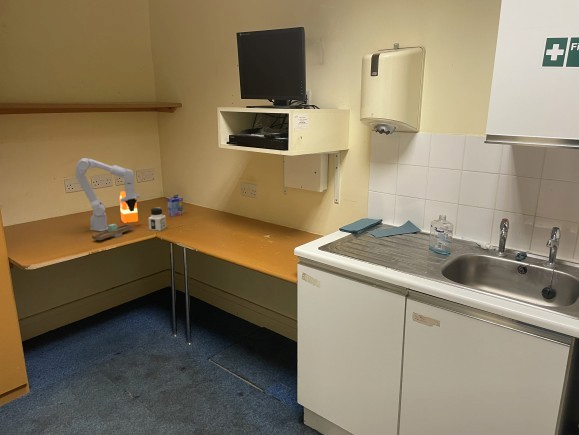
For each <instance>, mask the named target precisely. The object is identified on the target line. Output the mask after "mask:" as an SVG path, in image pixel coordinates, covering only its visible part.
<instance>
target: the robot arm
mask: <svg viewBox="0 0 579 435" xmlns="http://www.w3.org/2000/svg"><path fill="white" fill-rule="evenodd" d="M95 168H97V169H101V170H103V171H107V172H109V173H110V174H111V175H113V176H116V177H120V178H123V180H124V181H123V182H124V191H125V196H126V197H124V198H121V202H126V204H127V205H128V207H129V210H130V211H134V207H135V203H136V202H137V201H138V198H139V199H140V198H141V194H136V188H135V180H134V179H135V178H134V177H135V174H134V171H133V170H132V169H130V168H126V167H121V166H119V165H118V164H114V165H109V164H107V163H103V162H101V161H98V160H95V159H92V158H88V157H82V158H81V159H80V160H78V162H77V163H76V165H75V175H74V176H75V179H76V180H77V182H78V184H79V186H80V187H81V188H82V190H83V192H84V194H85V195H86V197H87V199H88V201H89V202H90V206H91V208H92V215H90V219H89V222H90V223H89V224H90V228H89V230H90V231H95V232H104V231H107V230H108V217H107V213H106V212H105V211H106V208H107V207H106V205H105V204H104V203H103V202H102V201H101V200H100V199H99V198H98V196H97V193H95V190H94V189H93V187H92V185H91V184H90V181H89V180H88V178H87V177H86V174H87V171H88V170H89V169H95ZM135 198H136V199H135Z"/></svg>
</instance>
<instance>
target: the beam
mask: <svg viewBox="0 0 579 435" xmlns="http://www.w3.org/2000/svg"><path fill="white" fill-rule="evenodd" d="M133 229H135V228H134V225H133V224H127V223H124V224H122V225H119V226H117V230H115V231H113V232H108V229H107V230H104V231H100V232H99V233H95V234H92V235H91V239H92V240H96V241H97V240H98V241H102V240H105V239H108V238H114V239H117V238H119V237H122V236H123V233H125V232H128V231H131V230H133Z"/></svg>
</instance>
